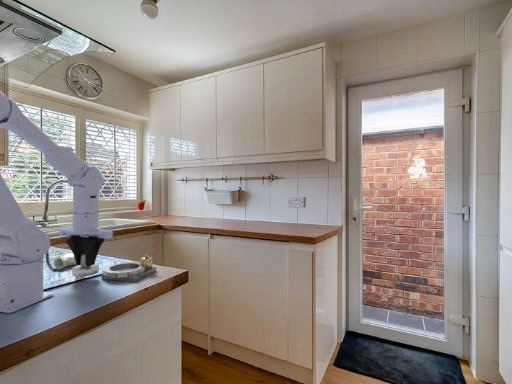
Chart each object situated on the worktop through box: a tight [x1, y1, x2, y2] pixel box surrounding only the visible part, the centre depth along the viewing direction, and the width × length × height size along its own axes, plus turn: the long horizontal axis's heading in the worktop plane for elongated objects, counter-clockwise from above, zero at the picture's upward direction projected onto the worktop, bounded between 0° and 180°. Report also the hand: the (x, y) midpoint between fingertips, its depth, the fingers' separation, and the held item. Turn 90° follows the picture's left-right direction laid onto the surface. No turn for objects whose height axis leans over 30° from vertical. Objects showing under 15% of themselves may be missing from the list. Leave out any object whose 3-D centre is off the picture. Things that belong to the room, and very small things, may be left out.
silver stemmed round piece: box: [71, 253, 100, 277], centre depth 73 cm, size 6×6×5 cm
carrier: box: [101, 254, 157, 283], centre depth 78 cm, size 11×11×5 cm
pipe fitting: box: [53, 252, 77, 270], centre depth 87 cm, size 8×4×7 cm
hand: (85, 264), depth 73 cm, fingers closed on silver stemmed round piece, 2 cm apart
